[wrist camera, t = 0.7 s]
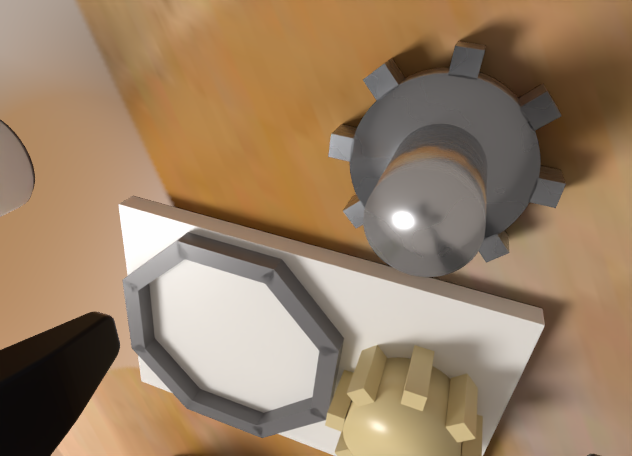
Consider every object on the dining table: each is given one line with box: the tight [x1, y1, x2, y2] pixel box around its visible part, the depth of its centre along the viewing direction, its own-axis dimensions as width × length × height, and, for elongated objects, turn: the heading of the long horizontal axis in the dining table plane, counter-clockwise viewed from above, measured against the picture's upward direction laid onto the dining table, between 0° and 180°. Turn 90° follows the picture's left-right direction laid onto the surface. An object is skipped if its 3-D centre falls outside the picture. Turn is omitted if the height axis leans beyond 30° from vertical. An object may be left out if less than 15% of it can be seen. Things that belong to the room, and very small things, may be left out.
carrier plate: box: [119, 196, 545, 456], centre depth 25 cm, size 22×14×4 cm, turn 84°
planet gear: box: [328, 41, 566, 277], centre depth 16 cm, size 9×9×6 cm
